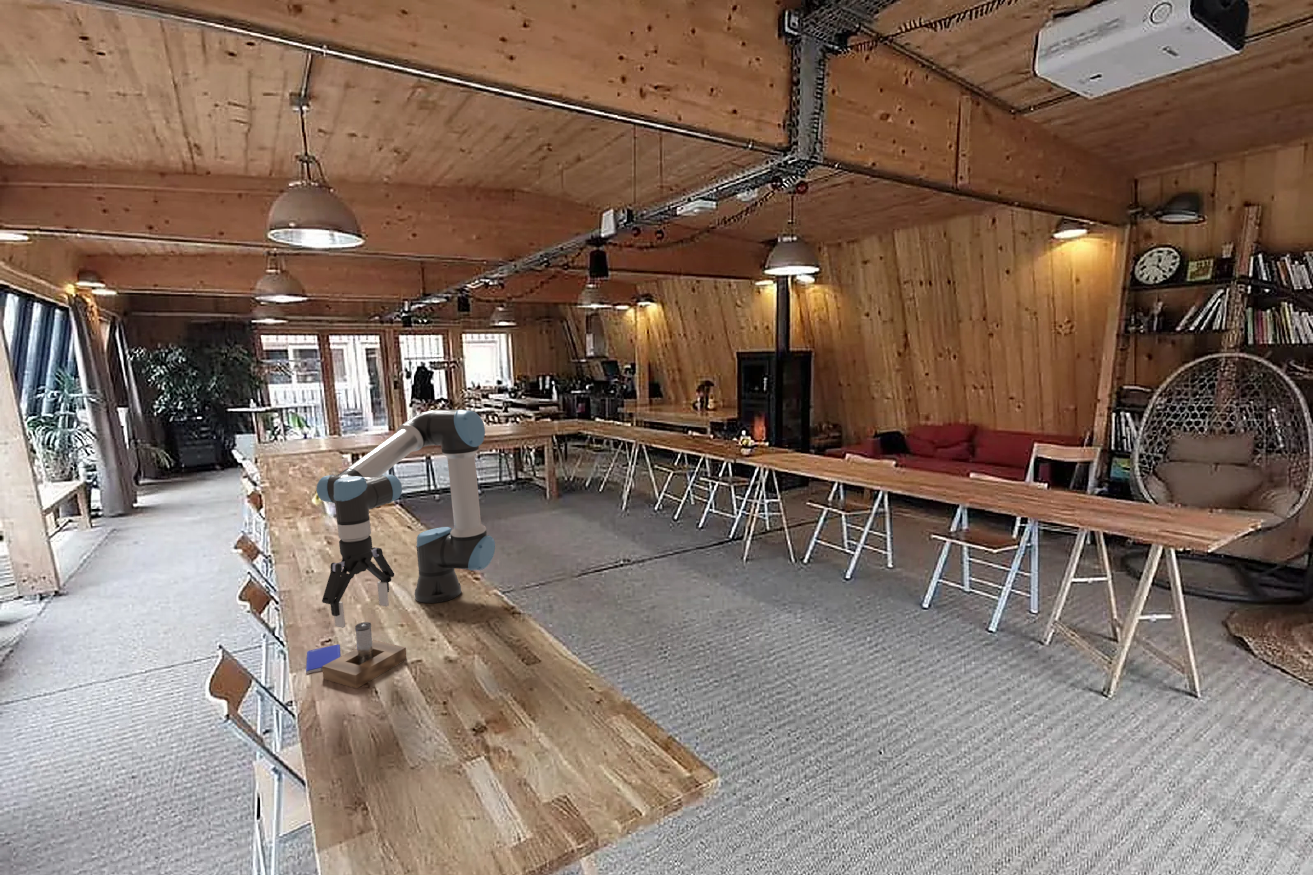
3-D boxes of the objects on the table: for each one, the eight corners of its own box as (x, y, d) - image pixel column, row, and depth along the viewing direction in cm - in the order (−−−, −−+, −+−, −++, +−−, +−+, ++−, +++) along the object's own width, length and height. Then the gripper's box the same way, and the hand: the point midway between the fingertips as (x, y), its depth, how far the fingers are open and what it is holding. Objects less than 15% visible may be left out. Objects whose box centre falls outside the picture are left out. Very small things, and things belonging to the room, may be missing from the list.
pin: (367, 664, 164) (363, 621, 163) (377, 666, 163) (373, 623, 161) (355, 670, 161) (351, 626, 160) (365, 673, 159) (362, 628, 158)
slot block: (374, 651, 172) (373, 639, 171) (406, 659, 167) (405, 647, 166) (323, 679, 157) (322, 666, 157) (356, 688, 152) (355, 675, 152)
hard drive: (306, 650, 171) (305, 670, 160) (339, 643, 174) (340, 662, 164) (307, 656, 171) (306, 676, 160) (340, 649, 175) (341, 668, 164)
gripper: (383, 522, 170) (390, 595, 173) (299, 550, 148) (309, 633, 151) (403, 525, 167) (410, 599, 170) (321, 554, 144) (330, 639, 148)
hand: (363, 615), depth 160 cm, fingers open, 13 cm apart
